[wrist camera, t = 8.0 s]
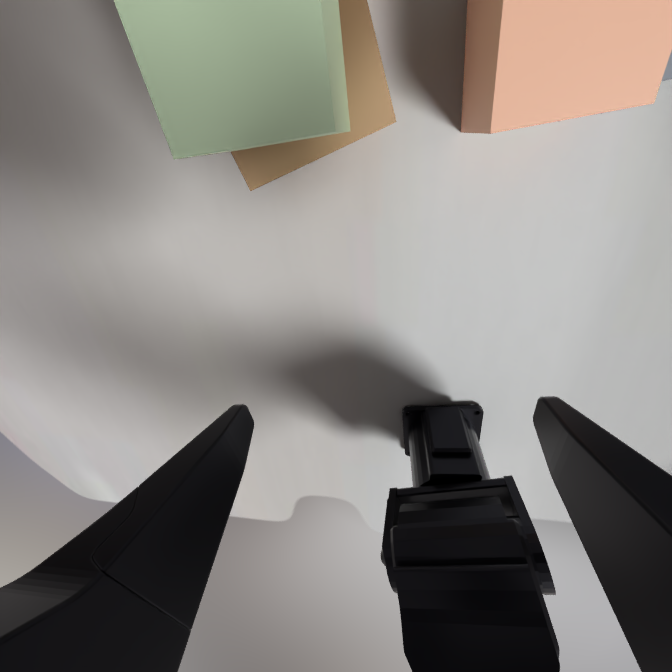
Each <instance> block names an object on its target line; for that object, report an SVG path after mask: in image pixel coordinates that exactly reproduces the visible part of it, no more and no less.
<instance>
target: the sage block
mask: <svg viewBox="0 0 672 672" xmlns="http://www.w3.org/2000/svg"><path fill="white" fill-rule="evenodd" d="M114 3H115V5H116V8H117V10H118V13H119V16H120V18H121V21H122V24H123V26H124V29H125V32H126V34H127V37H128V40H129V42H130V45H131V47H132V50H133V53H134V55H135V58H136V61H137V63H138V66H139V69H140V71H141V74H142V76H143V79H144V82H145V84H146V87H147V90H148V92H149V95H150V98H151V100H152V103H153V106H154V108H155V111H156V113H157V116H158V119H159V121H160V124H161V127H162V129H163V132H164V135H165V137H166V140H167V142H168V145H169V148H170V150H171V153H172V156H173V158H174V159H181V158H188V157H195V156H202V155H209V154H217V153H224V152H231V151H238V150H244V149H250V148H256V147H261V146H267V145H273V144H279V143H285V142H291V141H297V140H303V139H308V138H314V137H320V136H326V135H332V134H338V133H344V132H350V120H349V109H348V98H347V88H346V77H345V66H344V56H343V45H342V34H341V23H340V13H339V2H338V0H114Z"/></svg>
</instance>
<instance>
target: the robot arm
mask: <svg viewBox="0 0 672 672" xmlns="http://www.w3.org/2000/svg"><path fill="white" fill-rule="evenodd" d="M407 412H409V413H407ZM402 415H403V430H404V444H405V454H406V455H407V456H410V459H411V470H412V481H413V487H411V488H401V489H397V488H390V491H389V499H388V500H387V508H386V517H385V526H384V534H383V543H382V551H381V560H382V563H383V564H384V565H385V566H386V569H387V575H388V578H389V582H390V585H391V587H392V589H393V591H394V592H395V593H398V599H399V605H400V614H401V623H402V634H403V645H404V653H405V656H406V658H407V660H408V662H409V665H410V667H411V669H412V672H559V671H560V663H559V646H558V642H557V639H556V635H555V633H554V629H553V626H552V623H551V620H550V617H549V614H548V610H547V607H546V604H545V601H544V598H543V595H542V594H545V595H555V594H556V592H555V587H554V584H553V580H552V576H551V573H550V570H549V567H548V564H547V561H546V558H545V555H544V552H543V550H542V547H541V544H540V542H539V539H538V536H537V534H536V531H535V529H534V526H533V524H532V521H531V519H530V517H529V514H528V512H527V510H526V507H525V505H524V503H523V500H522V498H521V496H520V493H519V491H518V489H517V486H516V484H515V481H514V479H513V477H512V475H511V476H504V478H497V479H490V476H489V473H488V470H487V467H486V463H485V460H484V457H483V454H482V451H481V447H480V444H479V439H480V433H481V426H482V419H483V409H482V407H481V406H479V405H459V406H414V407H405V408H403V410H402ZM533 422H534V426H535V429H536V432H537V435H538V438H539V441H540V444H541V447H542V450H543V453H544V456H545V459H546V462H547V465H548V468H549V471H550V474H551V476H552V479H553V481H554V483H555V486H556V488H557V490H558V492H559V494H560V496H561V498H562V501H563V503H564V505H565V507H566V509H567V511H568V514H569V516H570V518H571V520H572V522H573V524H574V527H575V529H576V531H577V533H578V535H579V537H580V540H581V542H582V544H583V546H584V548H585V550H586V552H587V555H588V557H589V559H590V561H591V563H592V565H593V567H594V570H595V572H596V574H597V576H598V578H599V581H600V583H601V585H602V587H603V589H604V591H605V593H606V596H607V598H608V600H609V602H610V604H611V606H612V609H613V611H614V613H615V615H616V617H617V619H618V622H619V624H620V626H621V628H622V630H623V632H624V634H625V637H626V639H627V641H628V643H629V645H630V647H631V649H632V652H633V654H634V656H635V658H636V660H637V663H638V665H639V667H640V669H641V671H642V672H672V476H671V475H670V474H669V473H667V472H666V471H664V470H663V469H661V468H660V467H658V466H657V465H655V464H654V463H653V462H651V461H650V460H648V459H647V458H645V457H644V456H642V455H641V454H639V453H638V452H637V451H635V450H634V449H632V448H631V447H629V446H628V445H626V444H625V443H624V442H622V441H621V440H619V439H618V438H616V437H615V436H613V435H612V434H610V433H609V432H608V431H606V430H605V429H603V428H602V427H600V426H599V425H597V424H596V423H594V422H593V421H592V420H590V419H589V418H587V417H586V416H584V415H583V414H581V413H580V412H579V411H577V410H576V409H574V408H573V407H571V406H570V405H568V404H567V403H565V402H564V401H563V400H561V399H560V398H558V397H554V396H550V397H540V398H539V399H538V401H537V405H536V408H535V412H534V415H533ZM253 429H254V420H253V418H252V416H251V414H250V412H249V410H248V407H247V406H246V405H244V404H242V405H233V406H232V407H230V408H229V409H228V410H227V411H226V412H225V413H223V414H222V415H221V416H220V417H219V418H218V419H216V420H215V421H214V422H213V423H212V424H210V425H209V426H208V427H207V428H206V429H205V430H203V431H202V432H201V433H200V434H199V435H198V436H196V437H195V438H194V439H193V440H192V441H191V442H189V443H188V444H187V445H186V446H185V447H184V448H182V449H181V450H180V451H179V452H178V453H177V454H175V455H174V456H173V457H172V458H171V459H170V460H168V461H167V462H166V463H165V464H164V465H163V466H161V467H160V468H159V469H158V470H157V471H156V472H154V473H153V474H152V475H151V476H150V477H148V478H147V479H146V480H145V481H144V482H143V483H141V484H140V485H139V487H137V488H136V489H134V490H133V491H132V492H131V493H130V494H128V495H127V496H126V497H125V498H124V499H123V500H121V501H120V502H119V503H118V504H117V505H115V506H114V507H113V508H112V509H110V510H109V511H108V512H107V513H106V514H104V515H103V516H102V517H100V518H99V519H98V520H97V521H95V522H94V523H93V524H92V525H90V526H89V527H88V528H86V529H85V530H84V531H82V532H81V533H80V534H79V535H77V536H76V537H75V538H73V539H72V540H71V541H69V542H68V543H67V544H65V545H64V546H63V547H62V548H60V549H59V550H58V551H56V552H55V553H54V554H52V555H51V556H50V557H48V558H47V559H46V560H44V561H43V562H42V563H41V564H39V565H38V566H36V567H35V568H34V569H32V570H31V571H30V572H28V573H26V574H25V575H23V576H22V577H20V578H18V579H17V580H15V581H13V582H11V583H9V584H7V585H5V586H3V587H1V588H0V672H178V669H179V666H180V663H181V660H182V656H183V654H184V651H185V648H186V645H187V642H188V638H189V635H190V632H191V629H192V626H193V623H194V620H195V617H196V614H197V611H198V608H199V605H200V602H201V599H202V596H203V593H204V590H205V587H206V584H207V581H208V578H209V575H210V572H211V569H212V566H213V563H214V560H215V557H216V554H217V550H218V548H219V545H220V542H221V539H222V536H223V533H224V530H225V527H226V524H227V520H228V518H229V515H230V512H231V509H232V506H233V503H234V500H235V497H236V494H237V491H238V488H239V484H240V481H241V478H242V475H243V472H244V469H245V465H246V460H247V456H248V451H249V447H250V442H251V438H252V433H253Z"/></svg>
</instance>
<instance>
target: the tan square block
mask: <svg viewBox="0 0 672 672" xmlns="http://www.w3.org/2000/svg"><path fill="white" fill-rule="evenodd" d="M338 2H339V13H340V23H341V34H342V45H343V56H344V66H345V77H346V88H347V98H348V109H349V120H350V132H344V133H338V134H332V135H326V136H320V137H314V138H308V139H303V140H297V141H291V142H285V143H279V144H273V145H267V146H261V147H256V148H250V149H244V150H238V151H231V153H232V155H233V157H234V159H235V161H236V163H237V165H238V167H239V169H240V171H241V173H242V175H243V177H244V179H245V181H246V183H247V185H248V187H249V189H250V191H252V190H254V189H256V188H258V187H260V186H262V185H264V184H267V183H269V182H271V181H273V180H275V179H277V178H279V177H281V176H283V175H285V174H288V173H290V172H292V171H294V170H296V169H298V168H300V167H302V166H304V165H306V164H309V163H311V162H313V161H315V160H317V159H319V158H321V157H323V156H325V155H328V154H330V153H332V152H334V151H336V150H338V149H340V148H342V147H344V146H346V145H349V144H351V143H353V142H355V141H357V140H359V139H361V138H363V137H365V136H367V135H370V134H372V133H374V132H376V131H378V130H380V129H382V128H384V127H386V126H388V125H391V124H393V123H395V122H396V118H395V114H394V110H393V106H392V102H391V98H390V94H389V89H388V85H387V81H386V77H385V73H384V69H383V65H382V61H381V56H380V52H379V48H378V44H377V40H376V36H375V32H374V28H373V23H372V19H371V15H370V11H369V7H368V3H367V0H338Z"/></svg>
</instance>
